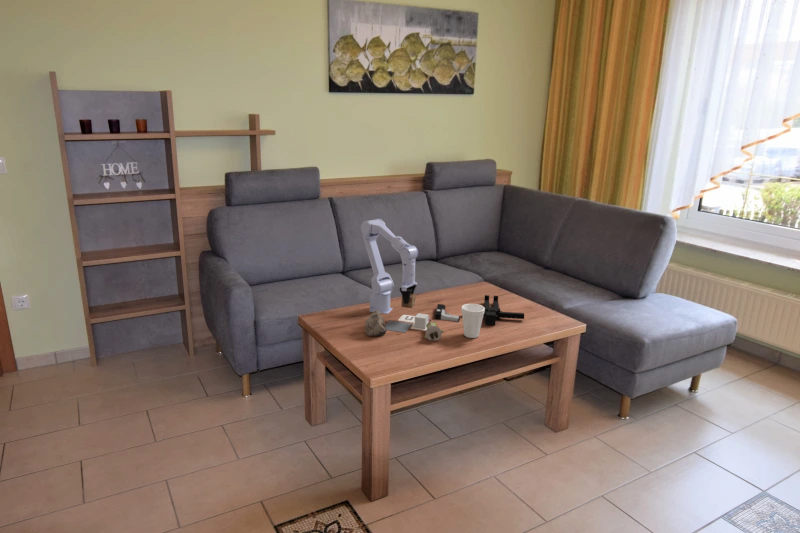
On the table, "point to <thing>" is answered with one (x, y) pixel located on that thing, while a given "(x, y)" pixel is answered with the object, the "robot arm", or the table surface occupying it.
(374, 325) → the rock
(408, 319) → the code tile
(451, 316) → the toy gun
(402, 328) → the slate mat
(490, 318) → the toy
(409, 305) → the walnut cube
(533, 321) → the table surface
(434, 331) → the figurine
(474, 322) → the cup
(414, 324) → the code tile
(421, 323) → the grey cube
